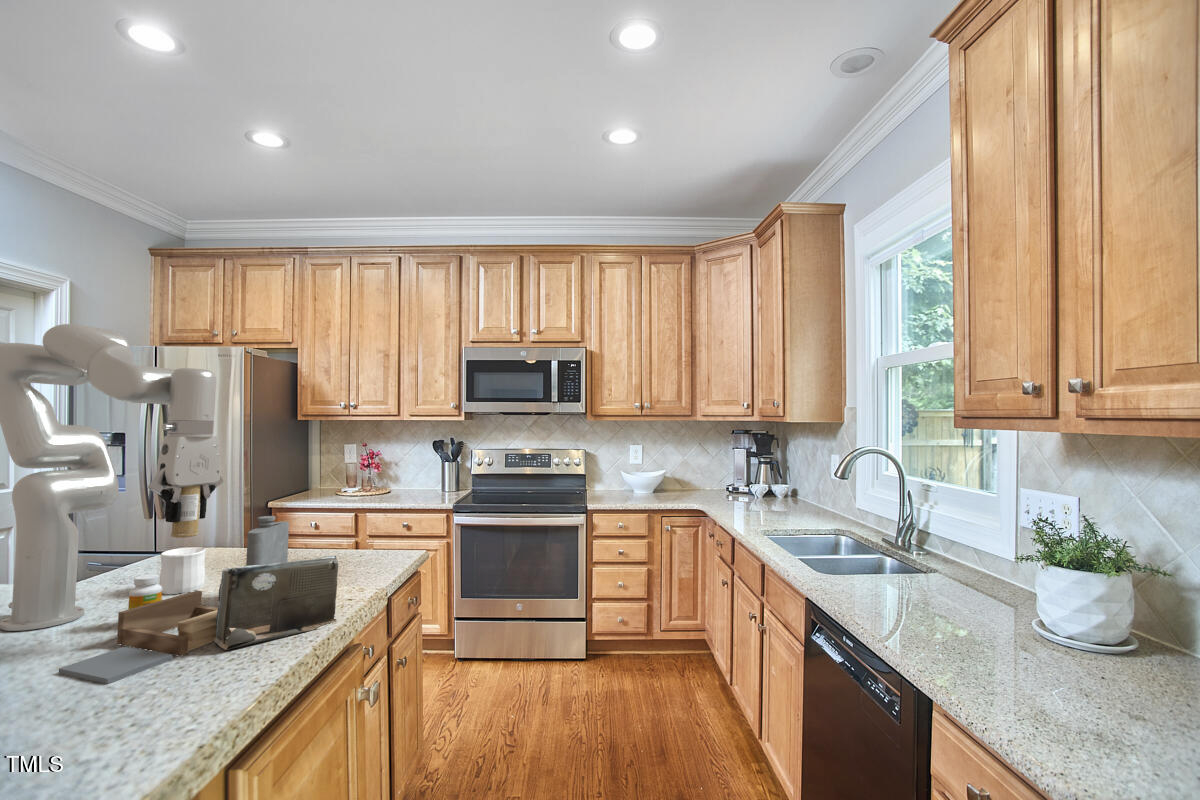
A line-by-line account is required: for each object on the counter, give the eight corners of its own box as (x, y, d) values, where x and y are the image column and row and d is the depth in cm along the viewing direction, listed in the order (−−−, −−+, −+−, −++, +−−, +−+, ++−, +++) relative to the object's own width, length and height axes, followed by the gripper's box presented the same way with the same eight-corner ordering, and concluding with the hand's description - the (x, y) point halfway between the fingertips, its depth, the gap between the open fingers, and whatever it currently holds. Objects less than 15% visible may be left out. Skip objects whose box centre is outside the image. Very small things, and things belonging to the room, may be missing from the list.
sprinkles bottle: (200, 533, 114) (204, 468, 115) (195, 537, 110) (199, 469, 111) (173, 534, 112) (177, 468, 113) (167, 538, 108) (171, 470, 109)
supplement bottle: (141, 629, 113) (144, 580, 114) (120, 626, 114) (123, 579, 115) (167, 620, 118) (169, 574, 119) (146, 618, 119) (148, 572, 120)
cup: (196, 582, 147) (198, 545, 148) (212, 588, 141) (213, 550, 142) (152, 590, 139) (154, 551, 140) (166, 597, 134) (168, 557, 134)
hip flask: (256, 611, 125) (260, 521, 126) (237, 611, 124) (241, 522, 125) (288, 590, 140) (291, 511, 141) (271, 591, 140) (274, 511, 141)
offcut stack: (172, 648, 103) (173, 624, 104) (227, 628, 114) (228, 606, 114) (187, 651, 102) (188, 626, 102) (242, 630, 113) (243, 608, 113)
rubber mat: (58, 673, 93) (58, 668, 93) (125, 650, 102) (125, 646, 102) (107, 684, 89) (107, 678, 89) (171, 659, 99) (172, 654, 99)
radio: (334, 613, 124) (337, 546, 125) (350, 623, 118) (352, 552, 119) (209, 641, 107) (213, 563, 108) (220, 654, 101) (224, 572, 102)
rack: (116, 644, 105) (118, 612, 105) (195, 618, 119) (196, 590, 120) (180, 656, 100) (182, 622, 100) (254, 628, 114) (256, 598, 115)
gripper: (160, 429, 103) (154, 528, 102) (242, 429, 119) (238, 515, 118) (132, 428, 106) (126, 525, 105) (217, 429, 122) (212, 513, 121)
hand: (185, 519), depth 111 cm, fingers closed on sprinkles bottle, 4 cm apart
